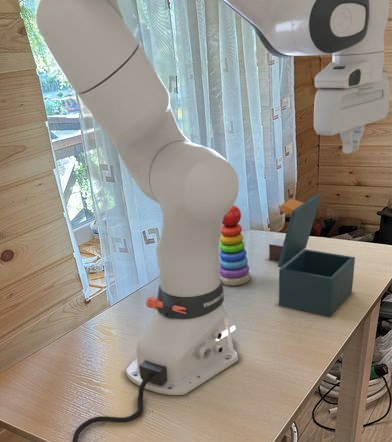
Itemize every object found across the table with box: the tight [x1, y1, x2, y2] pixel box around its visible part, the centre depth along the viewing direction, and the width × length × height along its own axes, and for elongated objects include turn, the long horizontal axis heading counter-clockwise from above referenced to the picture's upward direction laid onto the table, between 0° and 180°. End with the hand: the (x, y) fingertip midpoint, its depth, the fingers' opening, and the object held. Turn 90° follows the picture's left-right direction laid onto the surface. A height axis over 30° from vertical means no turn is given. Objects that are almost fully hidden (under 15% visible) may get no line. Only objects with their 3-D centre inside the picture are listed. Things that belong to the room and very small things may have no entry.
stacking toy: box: [219, 204, 251, 286], centre depth 123 cm, size 8×8×19 cm
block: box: [268, 238, 285, 263], centre depth 136 cm, size 4×4×4 cm
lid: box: [277, 193, 322, 269], centre depth 111 cm, size 13×13×5 cm
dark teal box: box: [278, 248, 356, 318], centre depth 114 cm, size 12×13×9 cm
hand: (350, 151), depth 100 cm, fingers closed
